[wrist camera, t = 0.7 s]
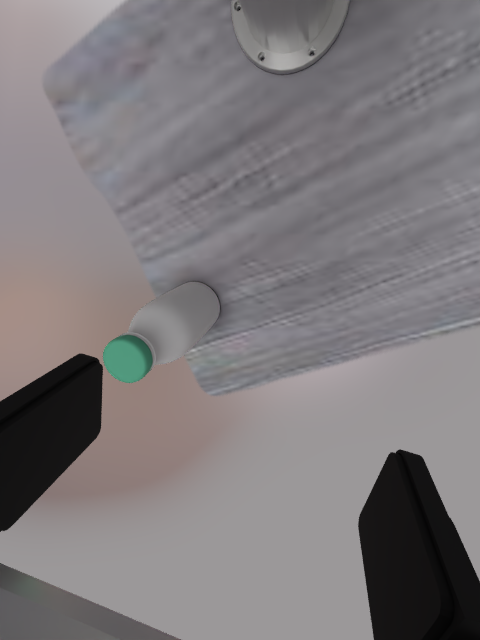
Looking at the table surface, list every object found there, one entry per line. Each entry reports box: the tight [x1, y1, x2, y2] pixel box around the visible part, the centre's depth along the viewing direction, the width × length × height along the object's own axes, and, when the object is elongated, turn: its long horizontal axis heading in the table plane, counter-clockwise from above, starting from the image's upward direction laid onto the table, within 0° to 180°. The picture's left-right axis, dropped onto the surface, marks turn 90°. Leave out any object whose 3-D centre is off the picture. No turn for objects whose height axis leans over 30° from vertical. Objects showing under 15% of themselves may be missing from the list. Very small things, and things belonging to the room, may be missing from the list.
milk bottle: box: [103, 282, 220, 383], centre depth 38 cm, size 8×8×20 cm
